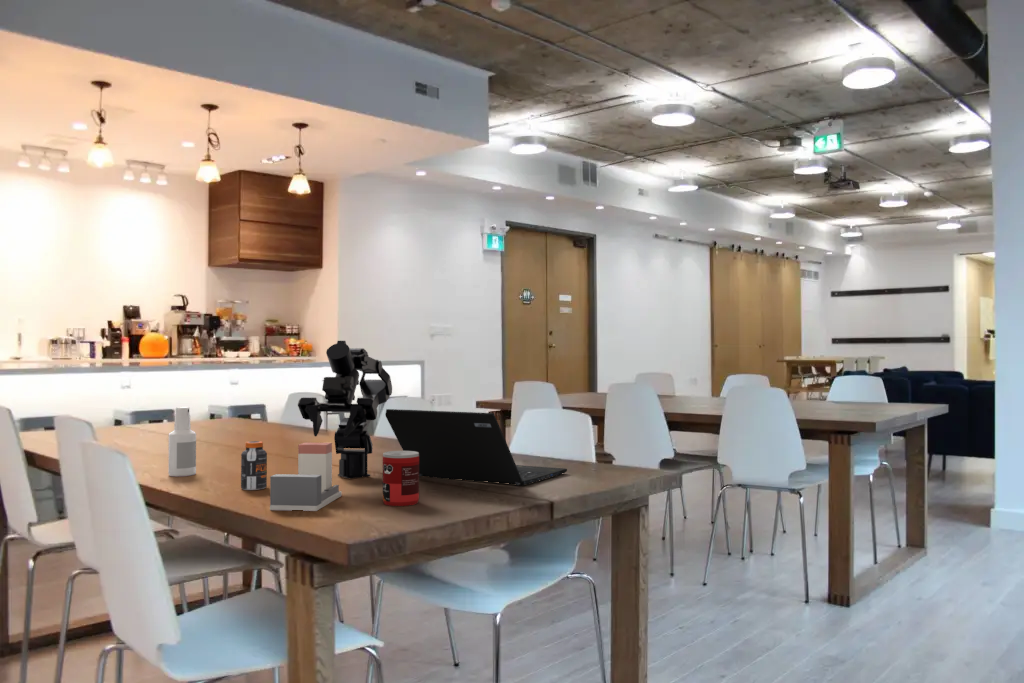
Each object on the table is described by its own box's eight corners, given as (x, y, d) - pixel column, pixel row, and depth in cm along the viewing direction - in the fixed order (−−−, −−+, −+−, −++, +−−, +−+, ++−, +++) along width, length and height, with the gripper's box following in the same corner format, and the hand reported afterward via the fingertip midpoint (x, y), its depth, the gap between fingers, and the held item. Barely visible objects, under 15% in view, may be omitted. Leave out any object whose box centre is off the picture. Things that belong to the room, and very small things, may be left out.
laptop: (568, 475, 213) (568, 403, 213) (493, 498, 181) (493, 413, 181) (466, 466, 230) (466, 399, 230) (381, 485, 198) (381, 407, 198)
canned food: (386, 499, 177) (386, 450, 177) (421, 499, 177) (421, 450, 177) (379, 506, 170) (379, 455, 170) (416, 506, 169) (416, 455, 169)
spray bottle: (189, 476, 208) (189, 408, 208) (163, 476, 208) (164, 408, 208) (200, 472, 215) (200, 406, 215) (175, 472, 215) (175, 406, 215)
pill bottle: (258, 491, 188) (258, 443, 188) (236, 490, 189) (236, 442, 189) (271, 486, 194) (271, 440, 194) (249, 485, 195) (249, 439, 195)
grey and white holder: (299, 494, 183) (299, 464, 183) (341, 495, 182) (341, 465, 182) (269, 510, 166) (269, 476, 166) (316, 510, 165) (316, 477, 165)
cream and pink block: (304, 490, 181) (304, 442, 181) (331, 491, 180) (331, 442, 180) (298, 493, 177) (298, 444, 177) (326, 494, 176) (326, 445, 176)
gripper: (300, 364, 195) (283, 413, 184) (374, 365, 194) (361, 414, 183) (311, 394, 203) (295, 443, 192) (382, 395, 201) (370, 444, 190)
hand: (330, 435), depth 189 cm, fingers open, 7 cm apart
